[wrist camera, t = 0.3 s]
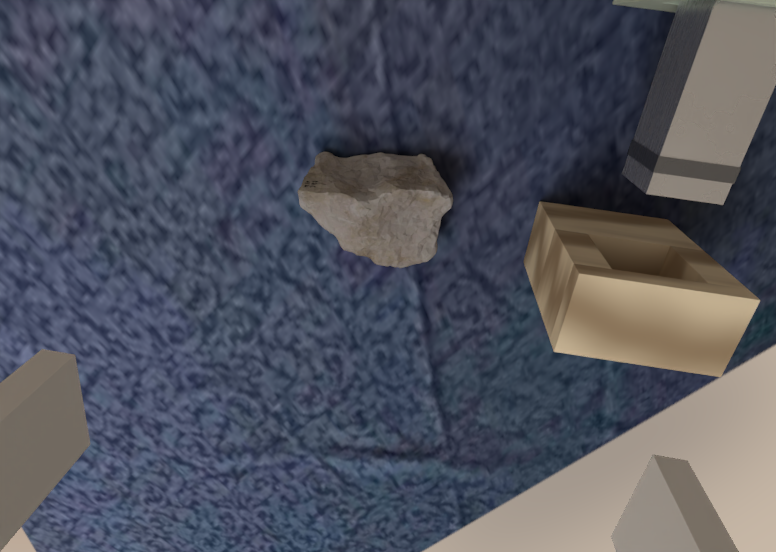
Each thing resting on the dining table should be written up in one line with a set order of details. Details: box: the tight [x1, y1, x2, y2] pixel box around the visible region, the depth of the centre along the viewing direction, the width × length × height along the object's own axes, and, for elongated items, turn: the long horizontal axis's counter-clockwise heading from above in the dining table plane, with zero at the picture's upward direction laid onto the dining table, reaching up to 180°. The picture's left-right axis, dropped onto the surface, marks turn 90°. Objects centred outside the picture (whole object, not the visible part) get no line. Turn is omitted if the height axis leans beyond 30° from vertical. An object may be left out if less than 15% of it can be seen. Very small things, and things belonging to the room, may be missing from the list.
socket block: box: [524, 201, 760, 377], centre depth 32 cm, size 5×9×12 cm, turn 83°
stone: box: [298, 151, 453, 268], centre depth 35 cm, size 8×10×6 cm
